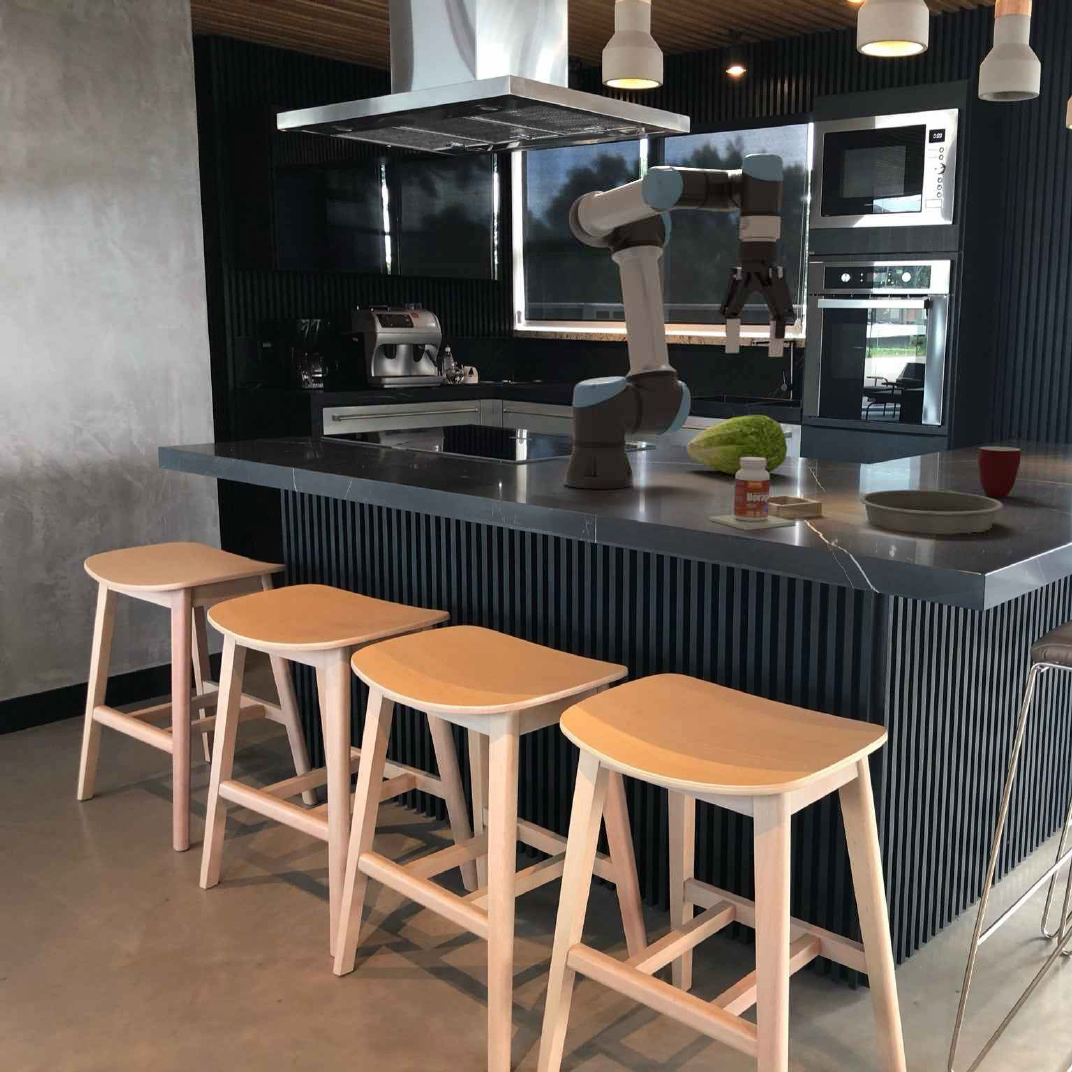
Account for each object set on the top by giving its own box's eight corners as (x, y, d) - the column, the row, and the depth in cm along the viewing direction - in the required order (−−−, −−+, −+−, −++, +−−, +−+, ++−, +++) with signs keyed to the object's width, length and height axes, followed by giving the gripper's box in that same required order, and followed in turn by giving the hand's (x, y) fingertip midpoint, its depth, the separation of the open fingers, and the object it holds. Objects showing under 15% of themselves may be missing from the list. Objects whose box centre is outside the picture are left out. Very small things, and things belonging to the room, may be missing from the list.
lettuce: (713, 468, 287) (704, 412, 284) (801, 465, 271) (792, 405, 268) (676, 486, 275) (666, 428, 272) (765, 484, 259) (756, 422, 256)
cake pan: (834, 515, 218) (835, 491, 217) (950, 510, 224) (951, 487, 223) (903, 540, 195) (905, 513, 194) (1030, 534, 200) (1033, 508, 199)
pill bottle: (746, 523, 205) (748, 461, 203) (727, 517, 211) (728, 457, 208) (775, 520, 208) (777, 459, 205) (755, 515, 213) (757, 455, 211)
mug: (989, 491, 246) (992, 444, 245) (1027, 495, 241) (1031, 447, 239) (969, 496, 239) (972, 448, 237) (1008, 500, 233) (1012, 452, 232)
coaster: (708, 520, 211) (709, 517, 211) (756, 515, 216) (756, 512, 216) (746, 530, 202) (746, 526, 202) (795, 524, 207) (795, 521, 207)
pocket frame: (745, 511, 221) (746, 498, 220) (786, 507, 225) (787, 494, 225) (779, 519, 212) (780, 506, 211) (821, 515, 217) (822, 502, 216)
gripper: (704, 242, 226) (699, 351, 230) (785, 237, 204) (778, 358, 208) (735, 243, 229) (730, 350, 233) (818, 239, 207) (811, 358, 212)
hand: (753, 354), depth 221 cm, fingers open, 13 cm apart
